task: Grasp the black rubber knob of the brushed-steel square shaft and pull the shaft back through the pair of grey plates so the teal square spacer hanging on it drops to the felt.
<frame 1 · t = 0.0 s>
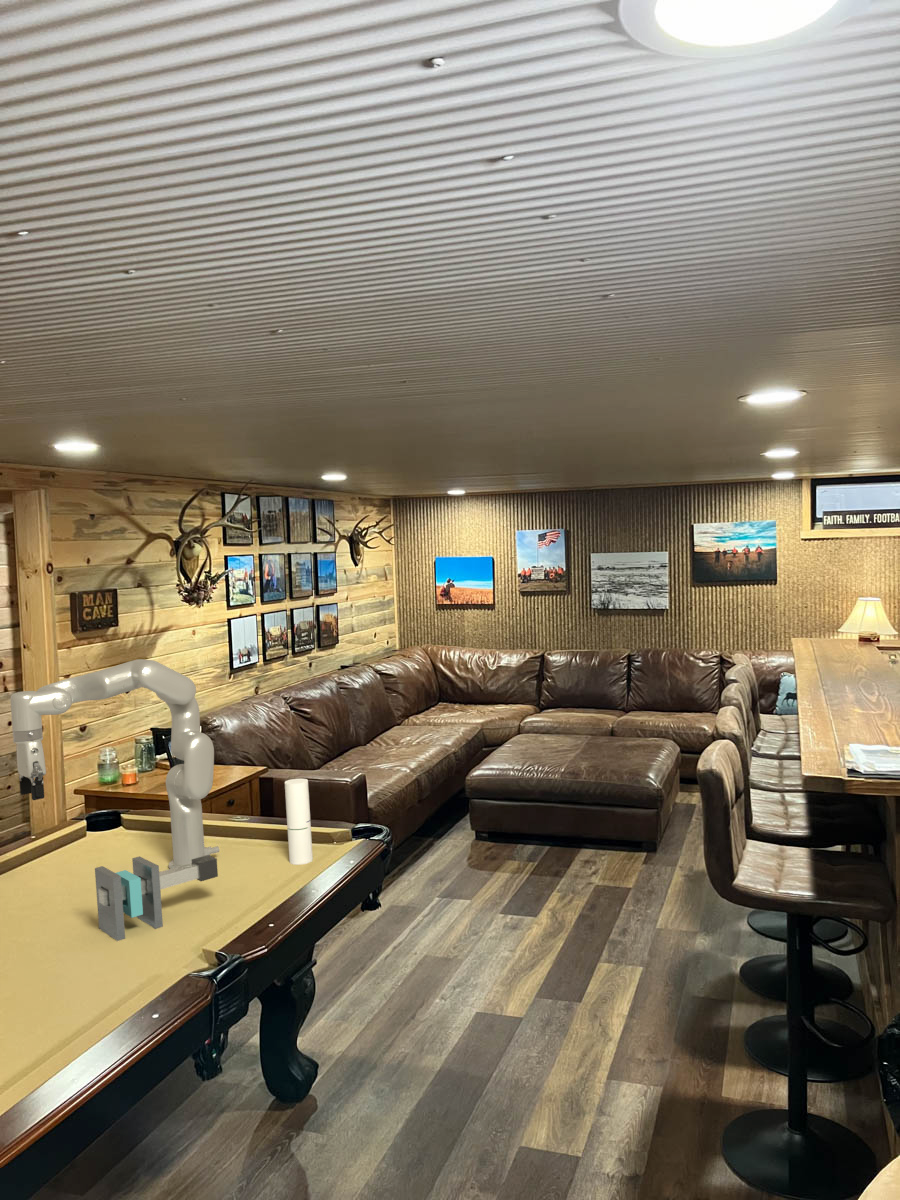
hand: (32, 796, 258), 31 cm above the table, fingers open, 9 cm apart
spacer: (129, 911, 239), point 4 cm above the table, touching shaft
pair of grey plates: (130, 927, 239), on the table
shaft: (159, 880, 245), point 10 cm above the table, slide at 0.0 cm, touching spacer
cylindrical container: (301, 861, 287), on the table
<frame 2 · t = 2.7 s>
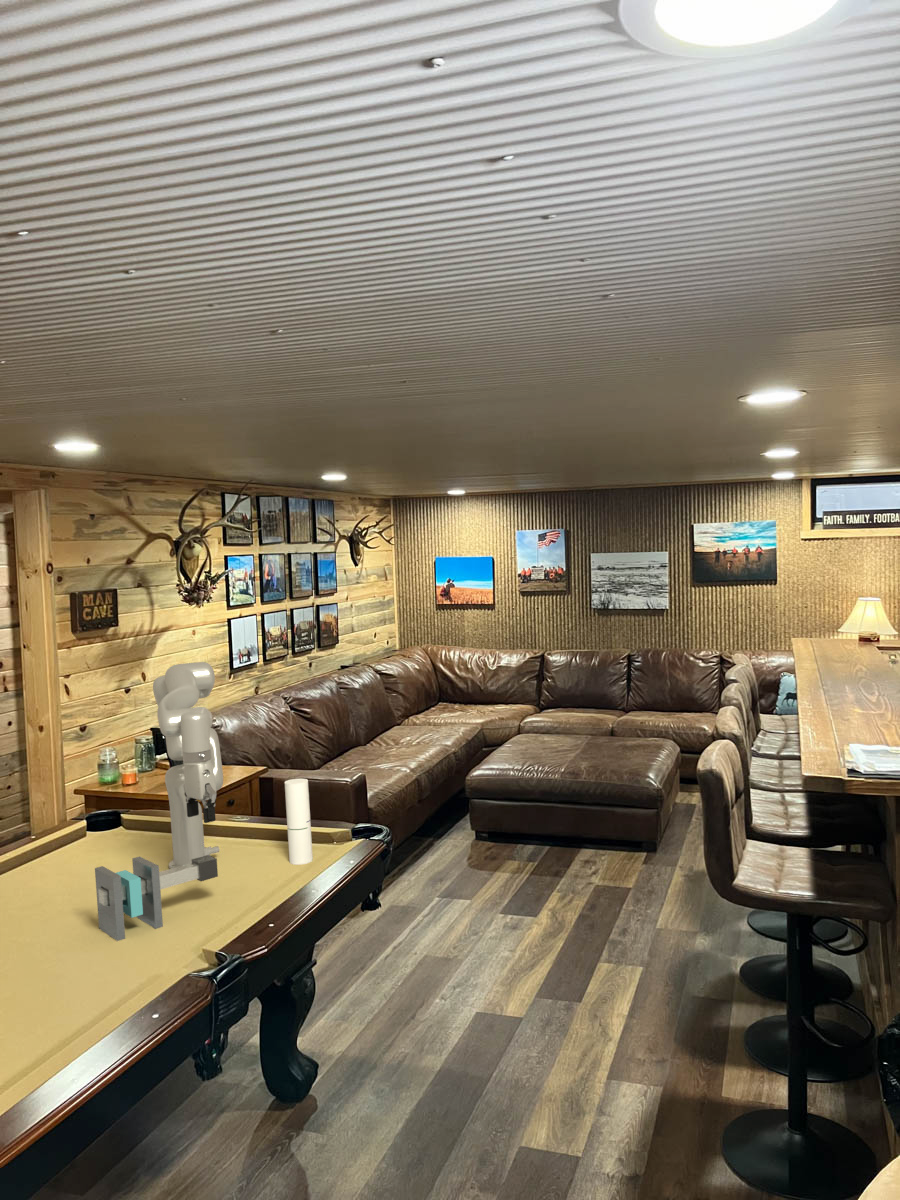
hand: (201, 818, 253), 24 cm above the table, fingers open, 9 cm apart
nothing on the table moved.
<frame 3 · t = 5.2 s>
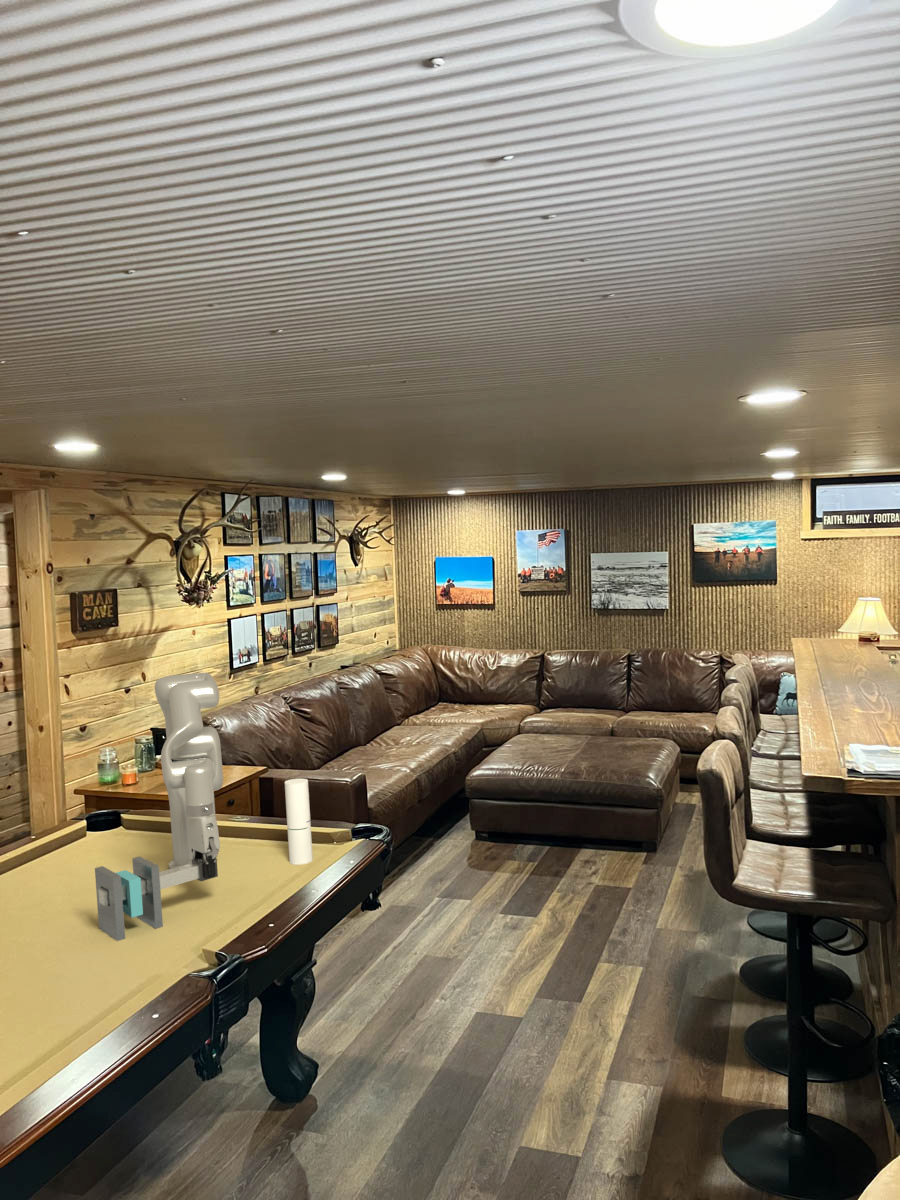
hand: (205, 874, 253), 8 cm above the table, fingers closed on shaft, 5 cm apart
shaft: (159, 880, 245), point 10 cm above the table, slide at 0.0 cm, touching gripper, spacer
everything else where it was.
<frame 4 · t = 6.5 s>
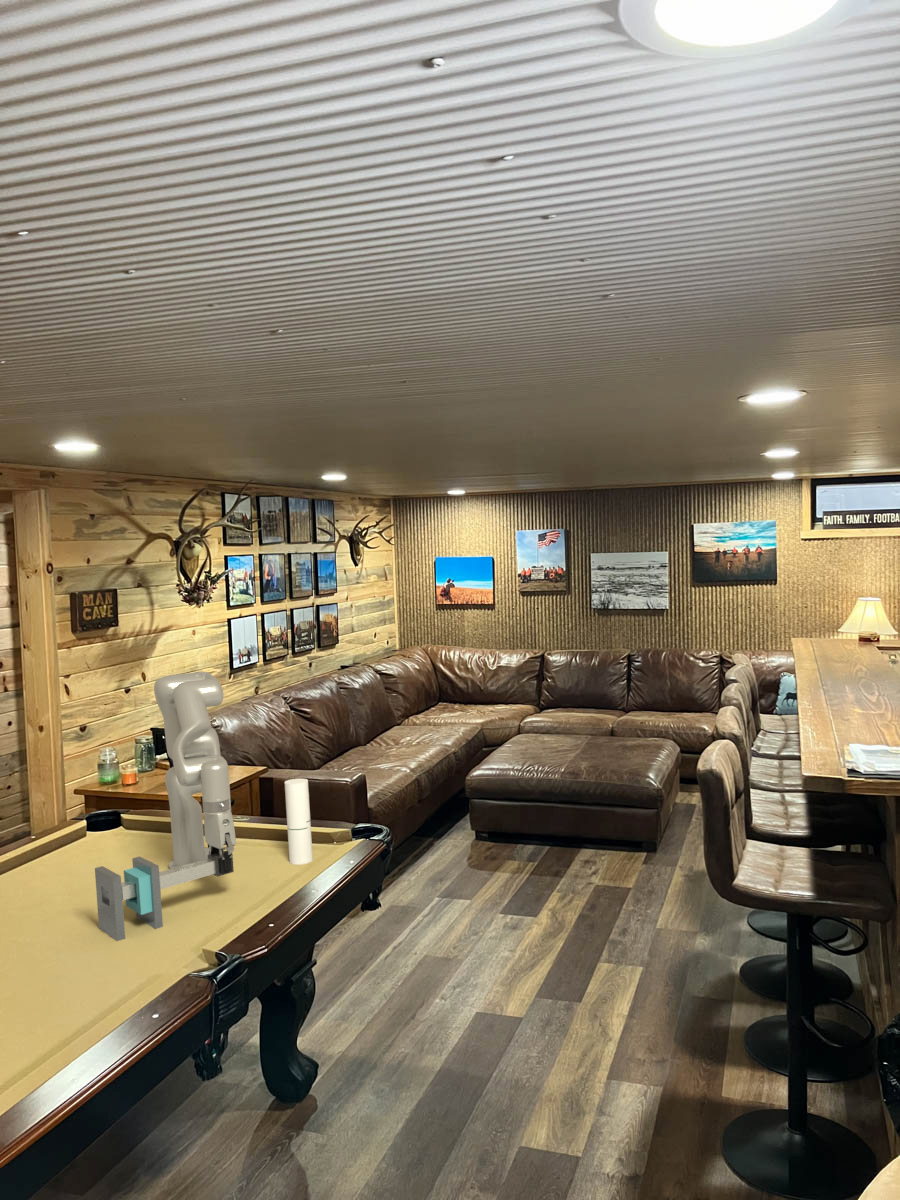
hand: (221, 869, 257), 8 cm above the table, fingers closed on shaft, 5 cm apart
spacer: (139, 908, 241), point 4 cm above the table
shaft: (176, 875, 248), point 10 cm above the table, slide at 4.8 cm, touching gripper
everything else where it was.
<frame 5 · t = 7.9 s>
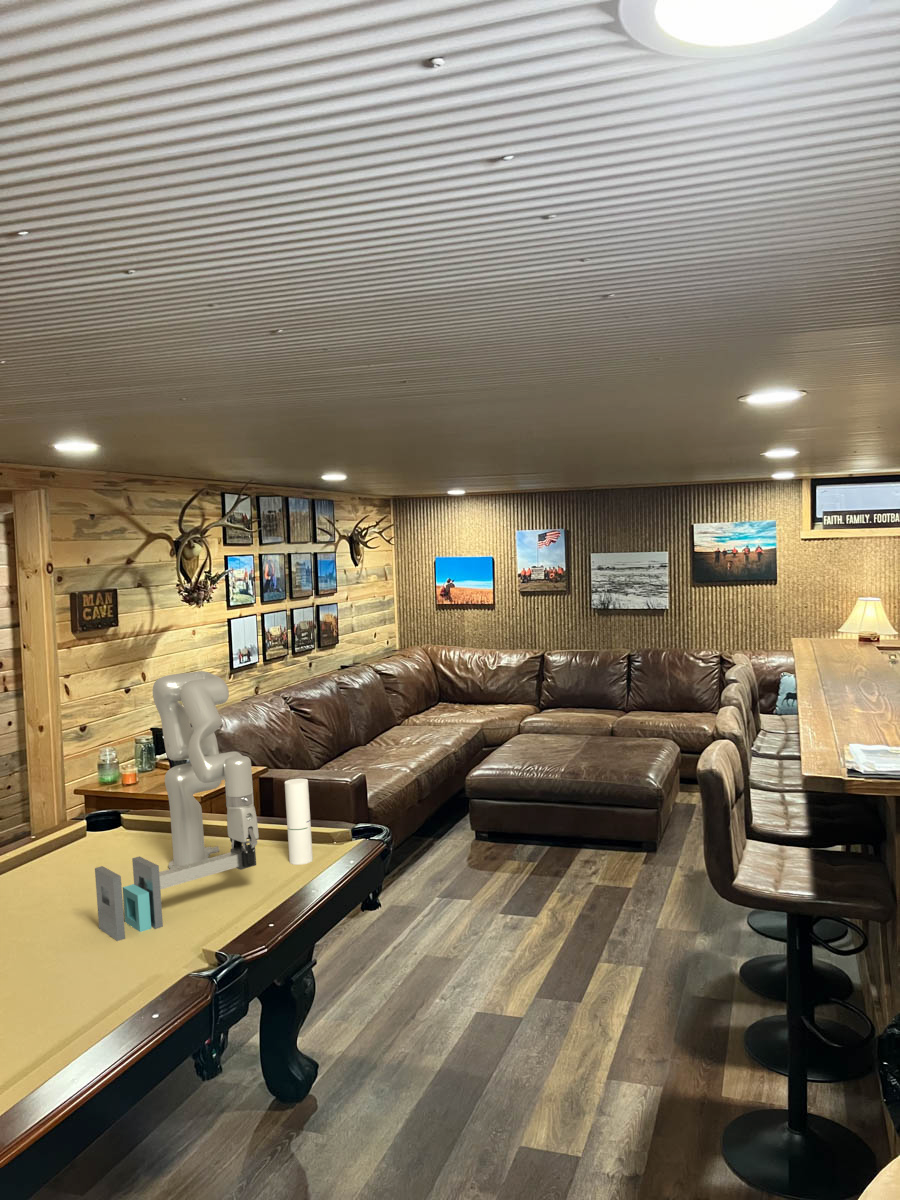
hand: (243, 863, 261), 8 cm above the table, fingers closed on shaft, 5 cm apart
spacer: (138, 925, 241), on the table
shaft: (201, 869, 253), point 10 cm above the table, slide at 11.9 cm, touching gripper
everything else where it was.
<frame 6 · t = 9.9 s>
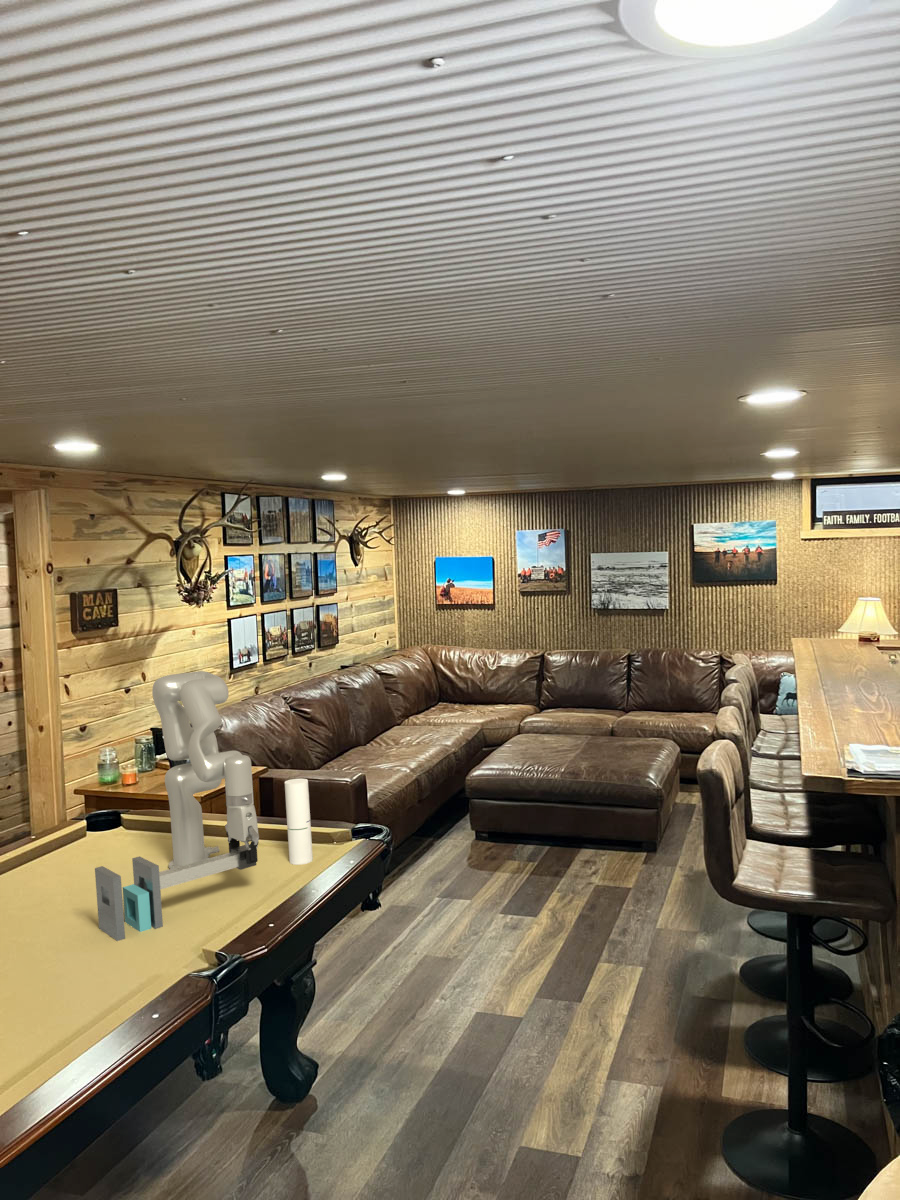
hand: (243, 859, 261), 9 cm above the table, fingers open, 9 cm apart
shaft: (201, 869, 253), point 10 cm above the table, slide at 12.0 cm
everything else where it was.
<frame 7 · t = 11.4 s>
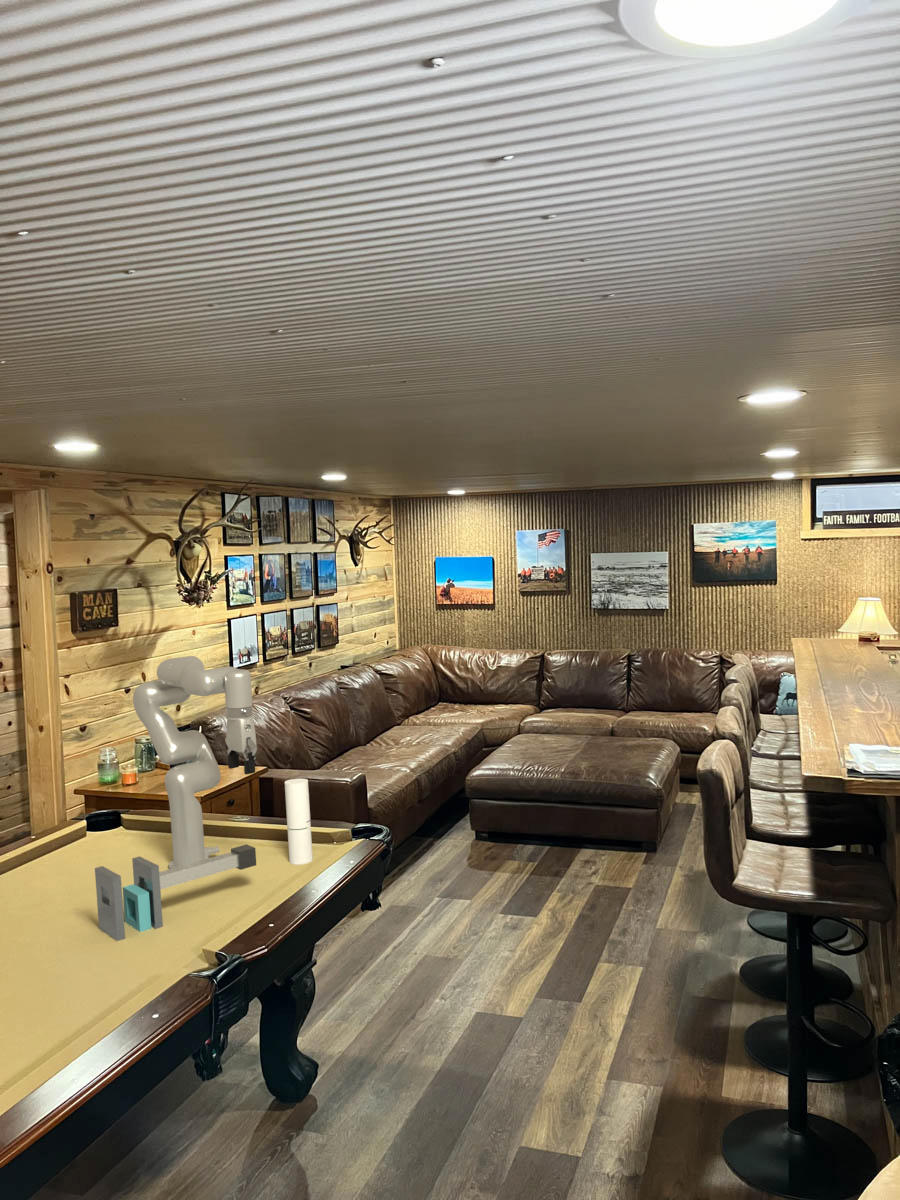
hand: (241, 770, 268), 33 cm above the table, fingers open, 9 cm apart
nothing on the table moved.
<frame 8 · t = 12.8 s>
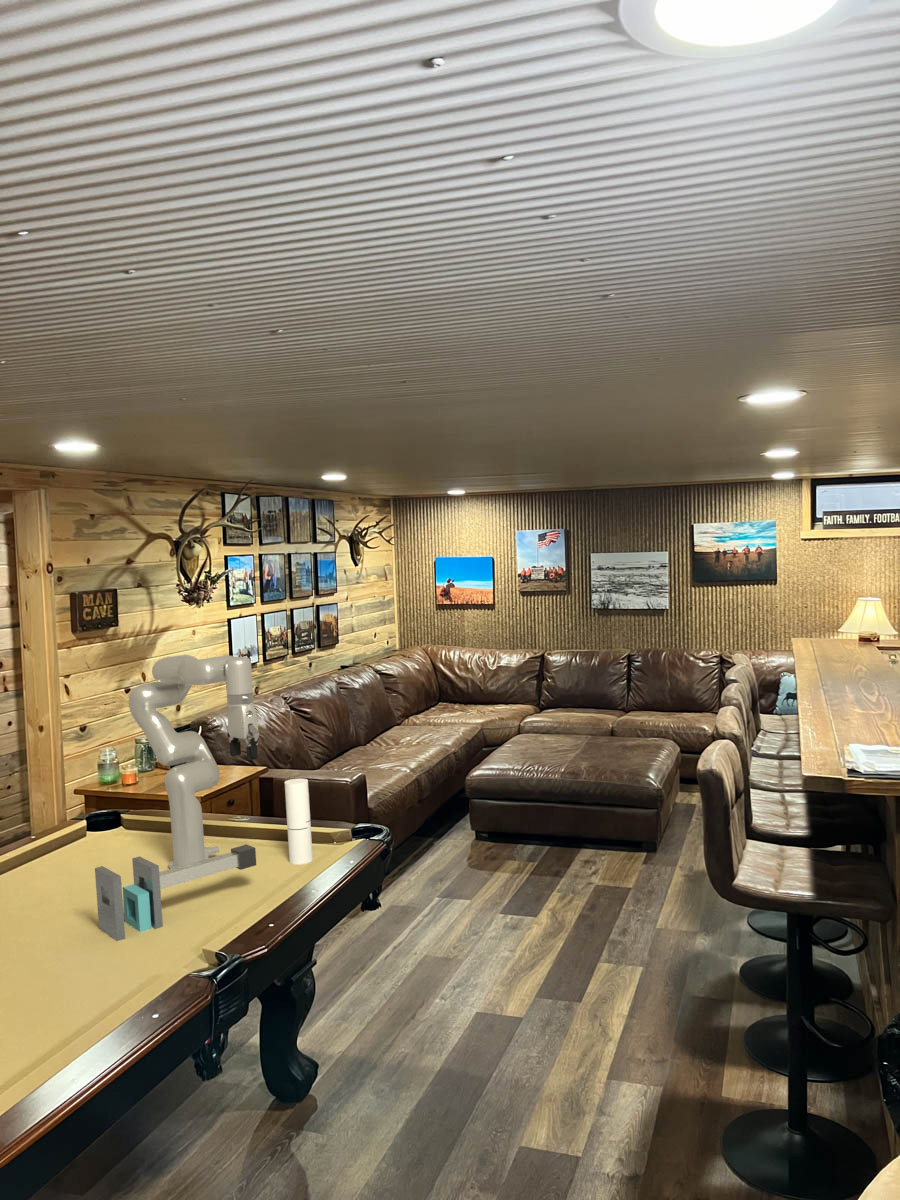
hand: (244, 757, 270), 36 cm above the table, fingers open, 9 cm apart
nothing on the table moved.
at the end: spacer on the table; spacer touching table; shaft slide at 12.0 cm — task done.
